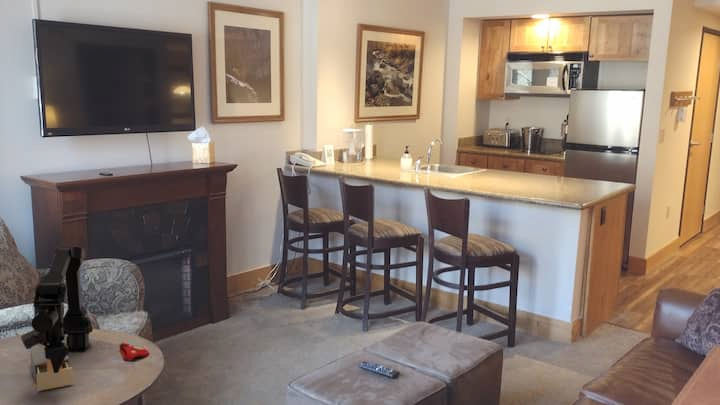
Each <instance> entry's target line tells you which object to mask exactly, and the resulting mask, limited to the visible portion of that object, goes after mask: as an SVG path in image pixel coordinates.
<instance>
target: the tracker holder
mask: <svg viewBox="0 0 720 405" xmlns="http://www.w3.org/2000/svg"><path fill="white" fill-rule="evenodd" d="M118 346H119V351H120V354H121V356H122V358H123V360H125V361H128V362H131V361H132V360H133V359H134V358H137V357H148V356H149V354H150V352H149V350H148V349H146V348H144V347H143V346H140V345H131V343H129V342H124V341H123V342H120V343H119V344H118Z"/></svg>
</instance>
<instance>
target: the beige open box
mask: <svg viewBox="0 0 720 405" xmlns="http://www.w3.org/2000/svg"><path fill="white" fill-rule="evenodd" d="M73 370H74V369H73V367H71V366H69V367H68V365H67V362H66V361H63V363H62V365H61V367H60V369H59V372H58V373H54V371H53V367H52V364H51V360H50V359H47V364H43V365H38V366H36V377H37V382H36V392H41V391H45V390H50V389H56V388H61V387H67V386H71V385H74V378H73V376H74V375H73Z"/></svg>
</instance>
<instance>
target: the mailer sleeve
mask: <svg viewBox="0 0 720 405" xmlns="http://www.w3.org/2000/svg"><path fill="white" fill-rule="evenodd" d="M44 348H45V346H44V345H41V346H38V347H37V346H35V347H32V348H30V349H29V352H30V366H31V371H32V375H33V380H34V383H37V377H36V366H38V365H43V364H47V359H46V358H45V355H44ZM64 361H66V362H67V365H68V367H69V368H70V358H69V354H68V355H67V356H66V357H65V359H64Z"/></svg>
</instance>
